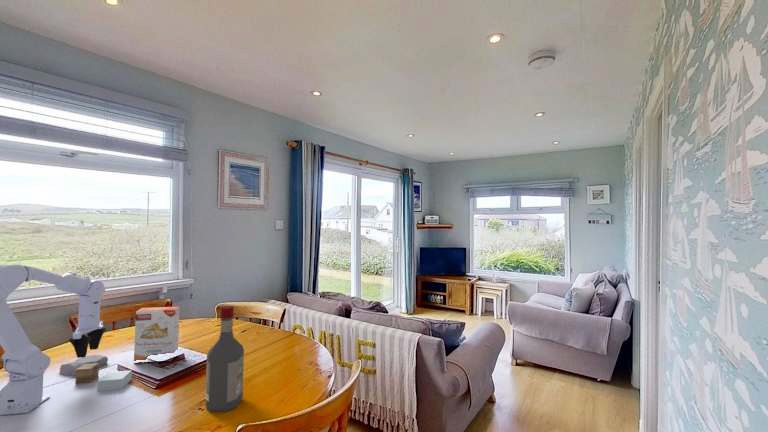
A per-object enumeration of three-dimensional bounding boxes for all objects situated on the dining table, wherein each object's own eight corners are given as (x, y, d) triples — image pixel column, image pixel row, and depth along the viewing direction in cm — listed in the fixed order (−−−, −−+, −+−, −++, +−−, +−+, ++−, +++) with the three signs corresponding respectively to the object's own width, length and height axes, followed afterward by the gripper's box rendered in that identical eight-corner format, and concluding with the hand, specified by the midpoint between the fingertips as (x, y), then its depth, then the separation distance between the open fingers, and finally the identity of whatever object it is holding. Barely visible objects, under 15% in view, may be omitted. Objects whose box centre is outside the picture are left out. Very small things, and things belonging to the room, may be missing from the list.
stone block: (55, 379, 124) (77, 376, 122) (54, 365, 124) (76, 362, 123) (90, 367, 136) (110, 364, 134) (89, 354, 136) (109, 352, 134)
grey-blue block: (121, 389, 114) (122, 379, 114) (97, 391, 112) (97, 381, 112) (131, 380, 121) (131, 370, 121) (108, 382, 119) (108, 372, 119)
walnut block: (90, 383, 118) (91, 368, 118) (75, 384, 117) (75, 369, 117) (98, 377, 122) (98, 363, 122) (83, 378, 121) (84, 364, 121)
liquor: (244, 396, 110) (247, 303, 111) (233, 412, 101) (236, 311, 102) (216, 396, 110) (219, 303, 111) (202, 412, 101) (205, 310, 102)
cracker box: (133, 364, 133) (135, 311, 133) (139, 358, 139) (141, 307, 139) (173, 361, 137) (175, 309, 137) (178, 355, 142) (179, 305, 143)
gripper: (91, 319, 114) (89, 360, 114) (113, 308, 128) (111, 345, 128) (65, 320, 112) (64, 361, 112) (90, 309, 126) (89, 346, 126)
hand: (87, 353), depth 120 cm, fingers open, 7 cm apart
